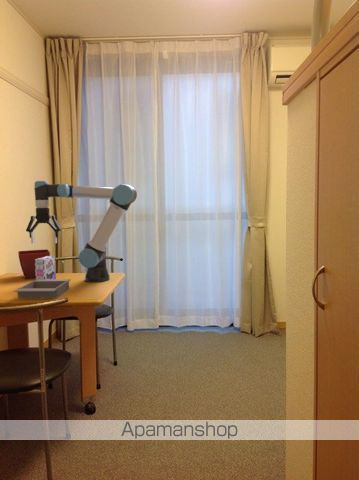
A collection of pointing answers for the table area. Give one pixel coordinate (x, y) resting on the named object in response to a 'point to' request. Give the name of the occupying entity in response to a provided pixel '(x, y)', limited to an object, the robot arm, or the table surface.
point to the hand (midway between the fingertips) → (44, 243)
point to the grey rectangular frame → (44, 288)
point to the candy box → (45, 268)
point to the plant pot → (30, 261)
